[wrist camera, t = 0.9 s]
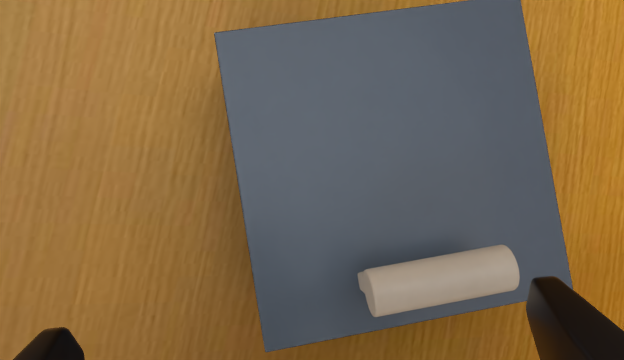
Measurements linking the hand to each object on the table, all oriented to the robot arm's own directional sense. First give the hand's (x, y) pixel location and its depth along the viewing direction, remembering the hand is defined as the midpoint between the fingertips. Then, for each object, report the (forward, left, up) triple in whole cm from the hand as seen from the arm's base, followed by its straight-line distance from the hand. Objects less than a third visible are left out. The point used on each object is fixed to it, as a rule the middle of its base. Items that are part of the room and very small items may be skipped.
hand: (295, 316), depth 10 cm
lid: (+3, -5, -10) cm, 12 cm away
